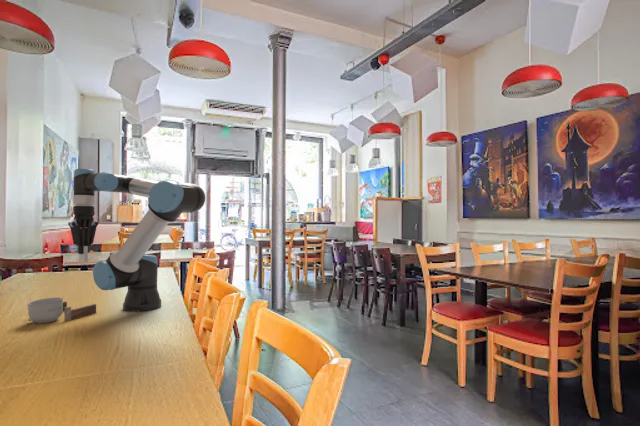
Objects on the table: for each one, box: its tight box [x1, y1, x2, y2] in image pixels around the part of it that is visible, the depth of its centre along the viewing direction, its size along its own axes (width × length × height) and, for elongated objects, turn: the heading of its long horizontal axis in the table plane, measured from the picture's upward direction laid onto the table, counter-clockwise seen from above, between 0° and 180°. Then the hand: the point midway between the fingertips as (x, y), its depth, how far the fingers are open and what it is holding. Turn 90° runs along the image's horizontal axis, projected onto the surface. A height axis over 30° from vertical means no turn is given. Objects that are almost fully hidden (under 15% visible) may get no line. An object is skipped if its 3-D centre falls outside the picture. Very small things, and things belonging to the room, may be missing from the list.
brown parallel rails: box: [63, 301, 97, 322], centre depth 150 cm, size 17×13×5 cm
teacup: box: [27, 296, 64, 324], centre depth 142 cm, size 14×11×8 cm
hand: (83, 261), depth 157 cm, fingers closed
